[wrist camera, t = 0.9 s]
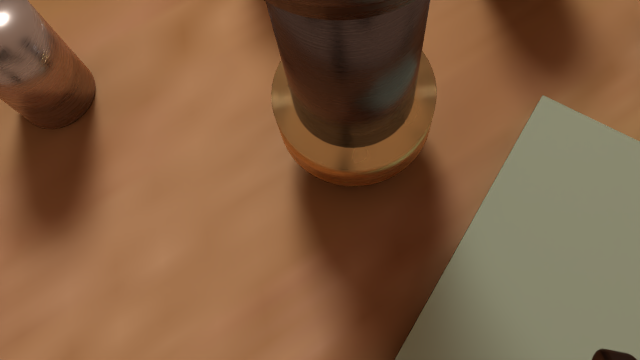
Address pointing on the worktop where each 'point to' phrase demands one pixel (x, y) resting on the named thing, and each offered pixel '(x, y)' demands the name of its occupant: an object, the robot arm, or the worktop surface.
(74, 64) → the spacer field
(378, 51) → the dark brown cylinder
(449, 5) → the worktop surface
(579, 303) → the mat
